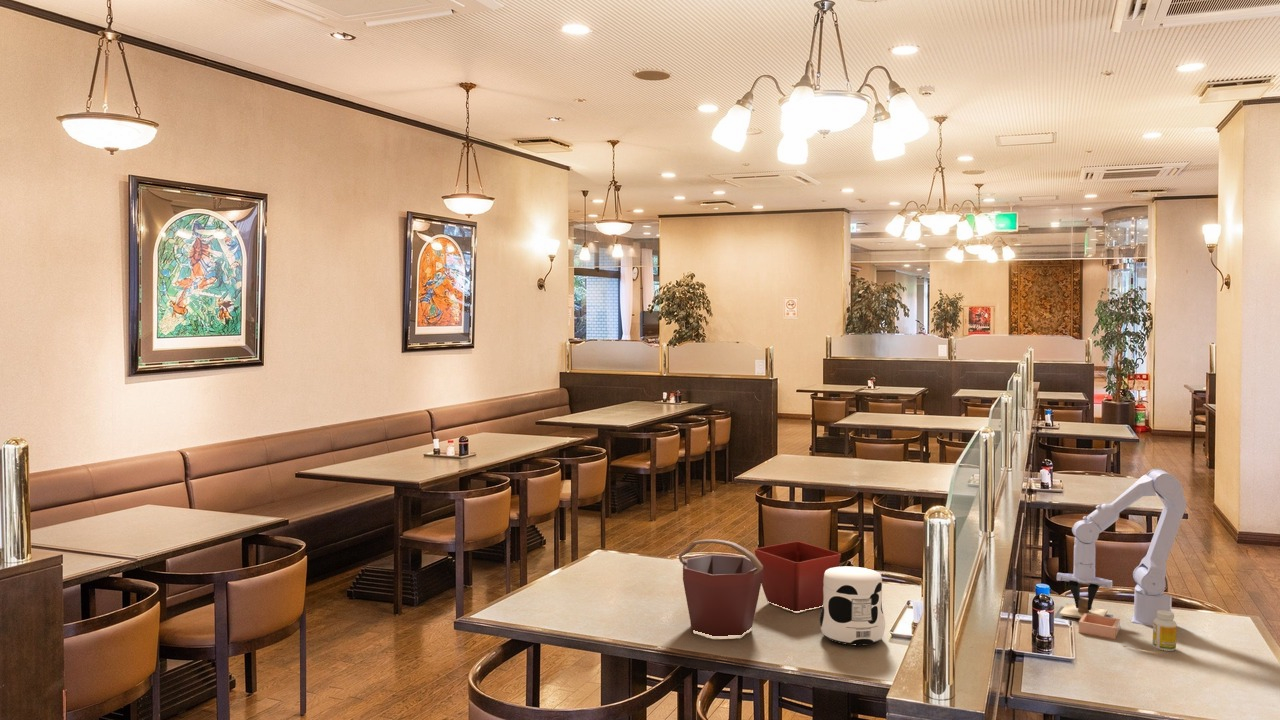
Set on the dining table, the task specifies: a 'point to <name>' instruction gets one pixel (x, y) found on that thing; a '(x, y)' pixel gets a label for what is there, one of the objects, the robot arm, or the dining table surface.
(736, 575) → the bucket
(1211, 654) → the dining table surface
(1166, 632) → the supplement bottle
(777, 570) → the plant pot
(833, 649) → the dining table surface
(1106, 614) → the mat
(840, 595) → the milk container
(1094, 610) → the lid
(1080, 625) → the terracotta open box
